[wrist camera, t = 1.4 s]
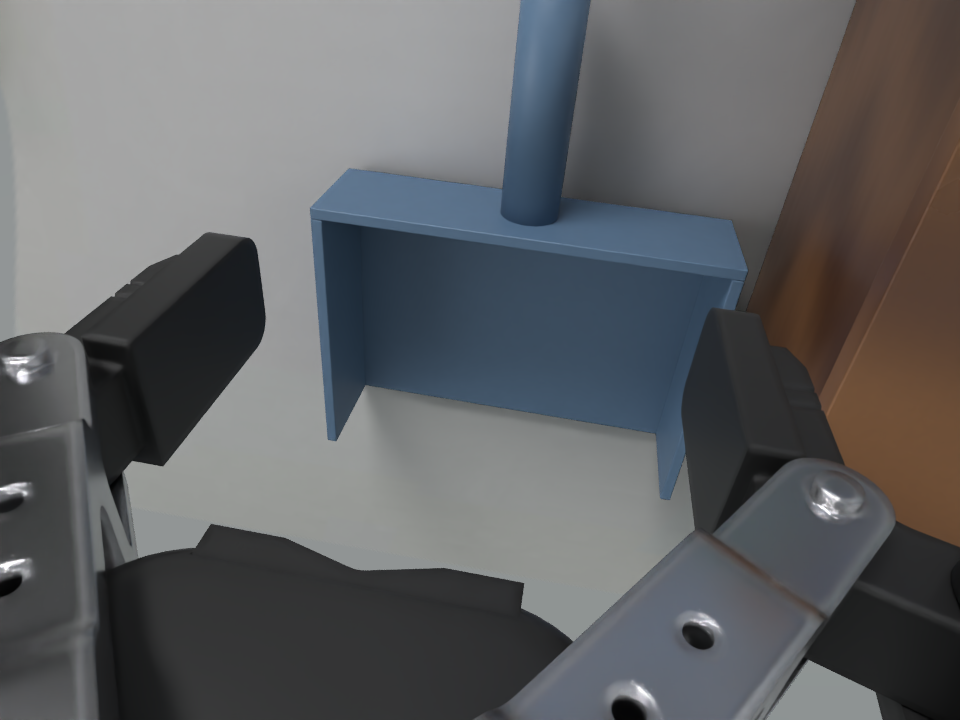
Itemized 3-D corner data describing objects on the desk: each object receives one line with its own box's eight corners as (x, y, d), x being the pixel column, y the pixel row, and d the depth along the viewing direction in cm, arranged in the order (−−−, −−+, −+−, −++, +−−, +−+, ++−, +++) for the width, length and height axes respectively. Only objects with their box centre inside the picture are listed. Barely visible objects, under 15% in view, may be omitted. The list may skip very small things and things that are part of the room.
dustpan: (664, 429, 31) (669, 500, 27) (360, 379, 32) (327, 440, 28) (834, -121, 19) (884, -124, 15) (340, -164, 20) (279, -175, 17)
